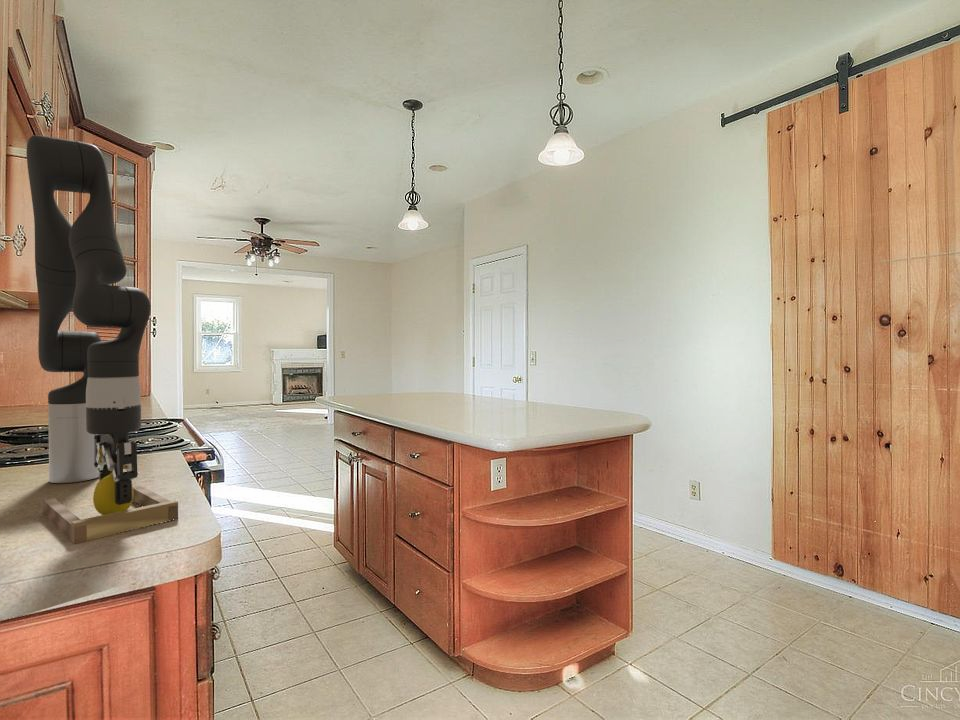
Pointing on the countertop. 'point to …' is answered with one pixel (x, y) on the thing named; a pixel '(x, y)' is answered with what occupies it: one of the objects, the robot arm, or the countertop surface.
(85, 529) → the brown wooden u-shaped frame
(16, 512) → the countertop surface
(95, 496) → the lemon
